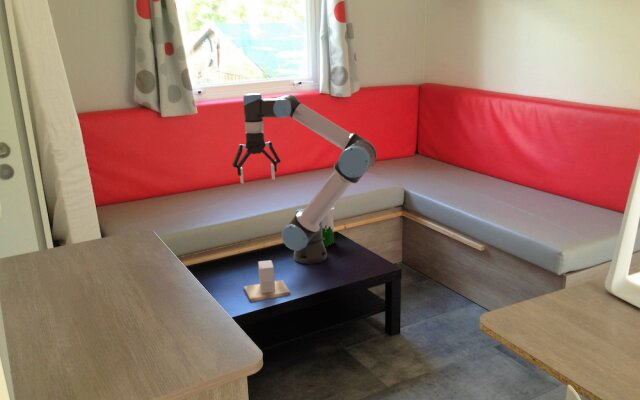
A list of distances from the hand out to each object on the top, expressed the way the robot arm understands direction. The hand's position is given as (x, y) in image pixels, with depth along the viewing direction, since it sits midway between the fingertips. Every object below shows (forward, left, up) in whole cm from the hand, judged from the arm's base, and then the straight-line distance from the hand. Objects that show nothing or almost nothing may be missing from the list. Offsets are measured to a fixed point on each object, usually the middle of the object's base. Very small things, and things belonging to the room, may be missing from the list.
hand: (257, 181), depth 234 cm
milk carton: (-34, -14, -39) cm, 54 cm away
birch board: (+5, +27, -39) cm, 47 cm away
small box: (+5, +27, -38) cm, 46 cm away
